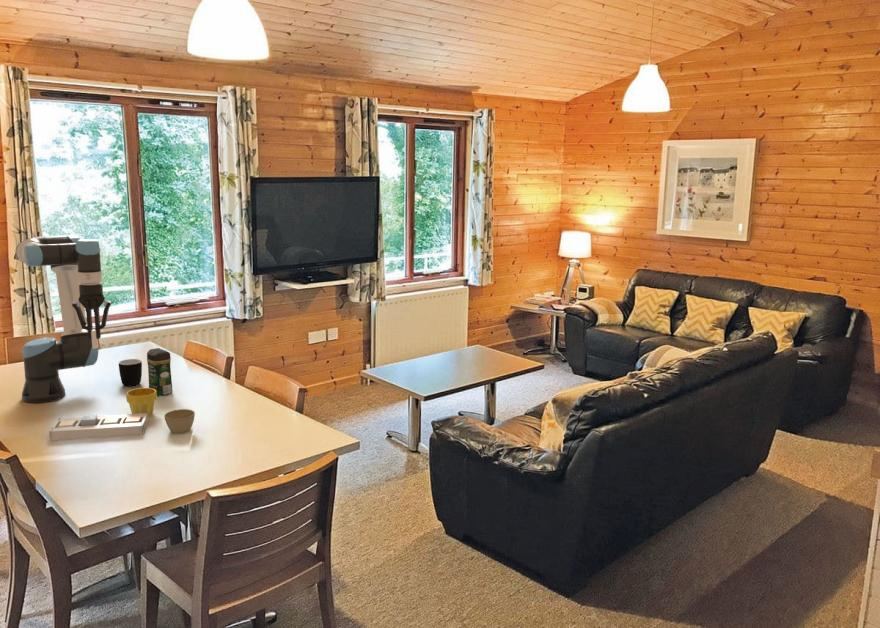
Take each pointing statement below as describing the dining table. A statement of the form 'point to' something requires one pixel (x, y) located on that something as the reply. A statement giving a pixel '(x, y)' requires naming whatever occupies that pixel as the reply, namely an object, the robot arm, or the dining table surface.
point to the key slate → (89, 420)
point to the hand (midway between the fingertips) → (95, 347)
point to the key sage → (111, 421)
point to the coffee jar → (159, 371)
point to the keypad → (99, 428)
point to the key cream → (67, 424)
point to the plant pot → (141, 400)
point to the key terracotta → (133, 420)
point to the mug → (130, 372)
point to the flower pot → (179, 420)
